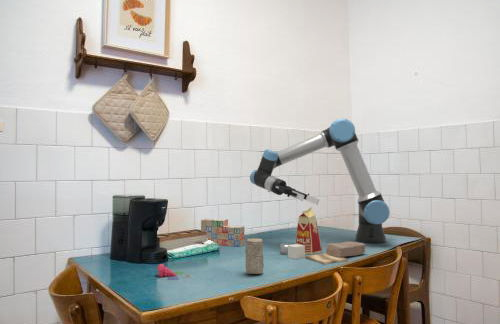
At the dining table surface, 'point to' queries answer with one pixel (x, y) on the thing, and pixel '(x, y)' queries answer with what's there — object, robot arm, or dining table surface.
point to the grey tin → (284, 249)
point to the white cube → (296, 251)
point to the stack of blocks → (223, 232)
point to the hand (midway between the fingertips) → (311, 200)
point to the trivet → (326, 258)
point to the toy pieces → (168, 272)
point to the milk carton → (308, 232)
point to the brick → (345, 249)
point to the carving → (254, 256)
